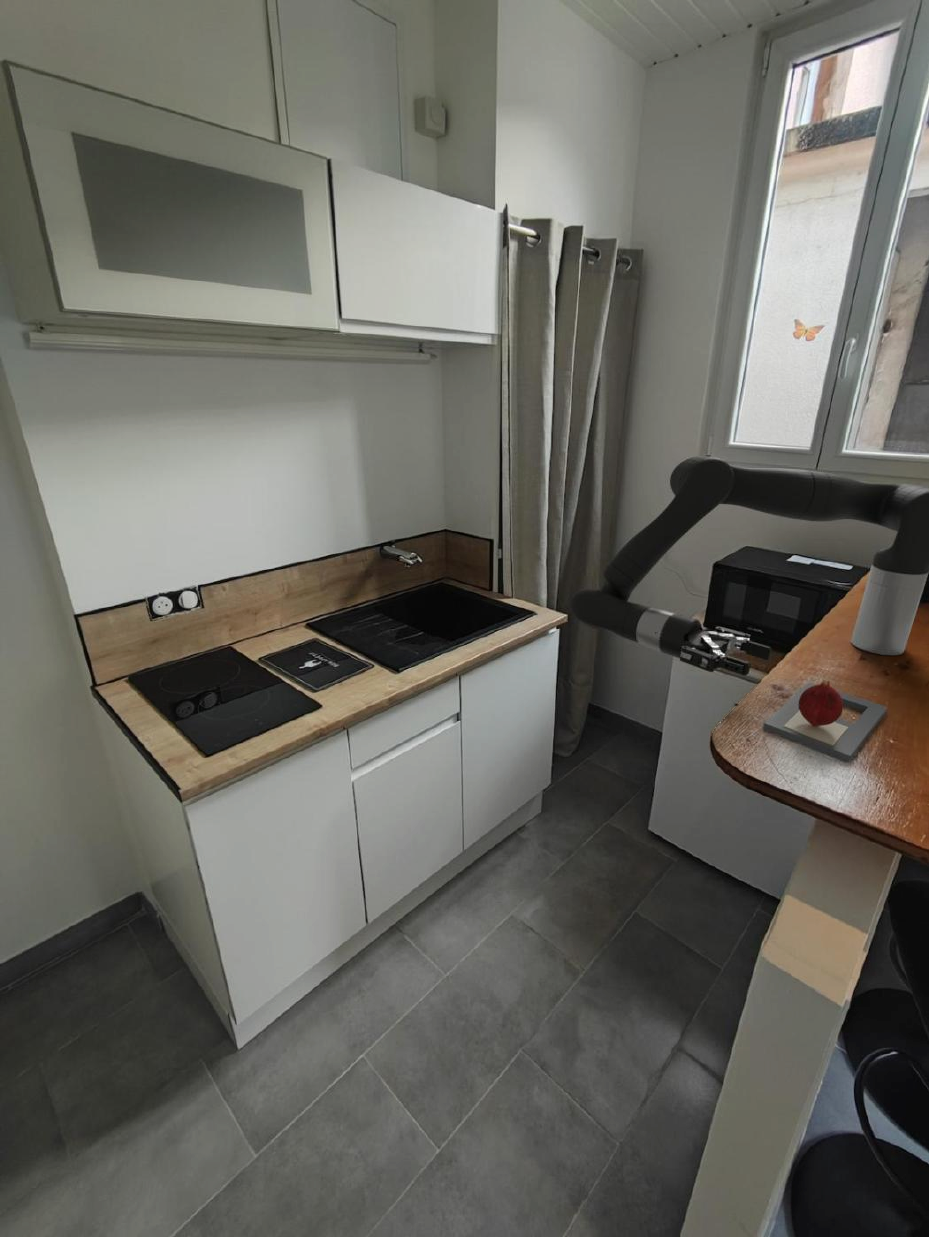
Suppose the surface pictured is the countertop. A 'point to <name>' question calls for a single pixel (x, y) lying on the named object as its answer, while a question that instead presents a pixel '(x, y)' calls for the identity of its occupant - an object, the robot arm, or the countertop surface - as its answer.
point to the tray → (827, 726)
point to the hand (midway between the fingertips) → (759, 661)
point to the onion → (821, 704)
